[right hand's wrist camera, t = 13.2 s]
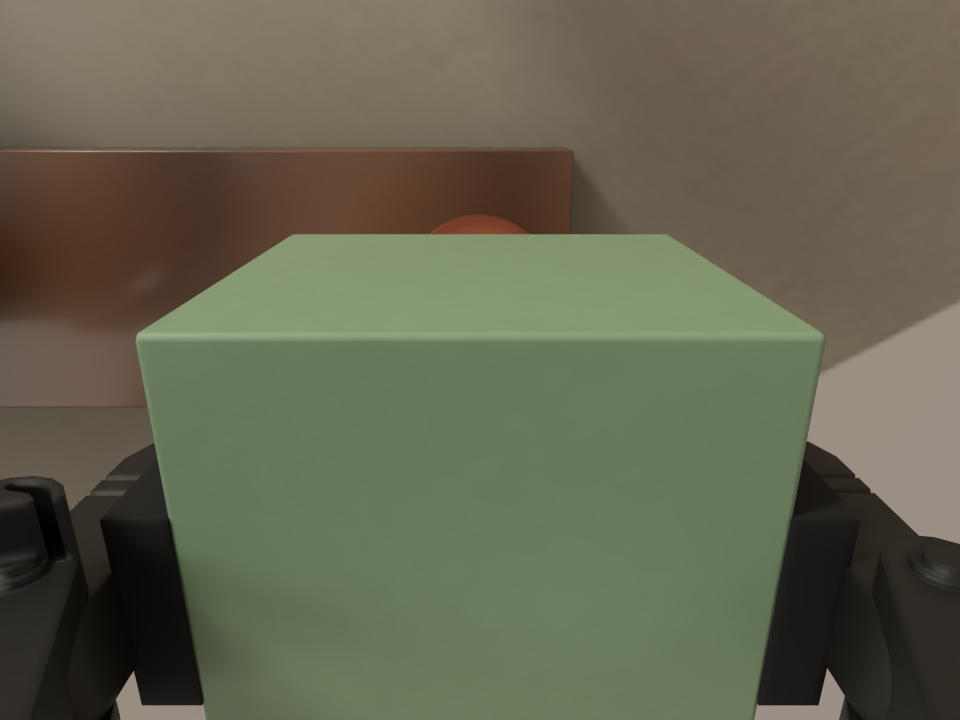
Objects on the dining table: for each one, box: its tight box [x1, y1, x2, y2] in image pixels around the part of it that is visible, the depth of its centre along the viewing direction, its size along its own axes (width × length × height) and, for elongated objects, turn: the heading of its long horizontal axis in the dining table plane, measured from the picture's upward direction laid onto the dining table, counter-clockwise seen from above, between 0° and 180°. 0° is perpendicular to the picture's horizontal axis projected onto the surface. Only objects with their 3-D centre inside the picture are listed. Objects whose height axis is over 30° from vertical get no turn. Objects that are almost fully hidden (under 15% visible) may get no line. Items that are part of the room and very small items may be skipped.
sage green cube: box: [136, 234, 825, 720], centre depth 11 cm, size 7×7×6 cm
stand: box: [0, 148, 574, 407], centre depth 17 cm, size 26×9×16 cm, turn 90°
